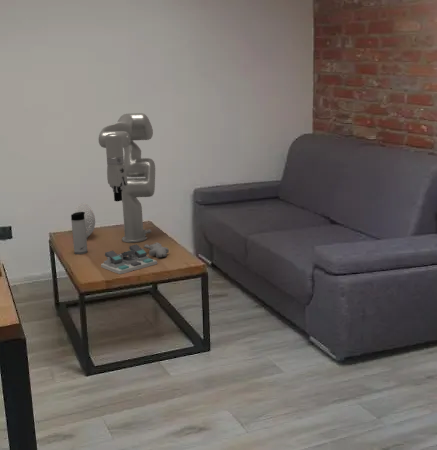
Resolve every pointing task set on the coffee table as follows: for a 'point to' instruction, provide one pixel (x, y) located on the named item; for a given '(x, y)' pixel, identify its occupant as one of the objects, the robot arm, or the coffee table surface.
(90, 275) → the coffee table surface
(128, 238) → the robot arm
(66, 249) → the coffee table surface
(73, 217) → the travel mug
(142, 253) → the rocker nearest
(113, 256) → the rocker
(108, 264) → the switch unit
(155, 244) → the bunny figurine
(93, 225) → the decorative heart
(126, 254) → the rocker middle
